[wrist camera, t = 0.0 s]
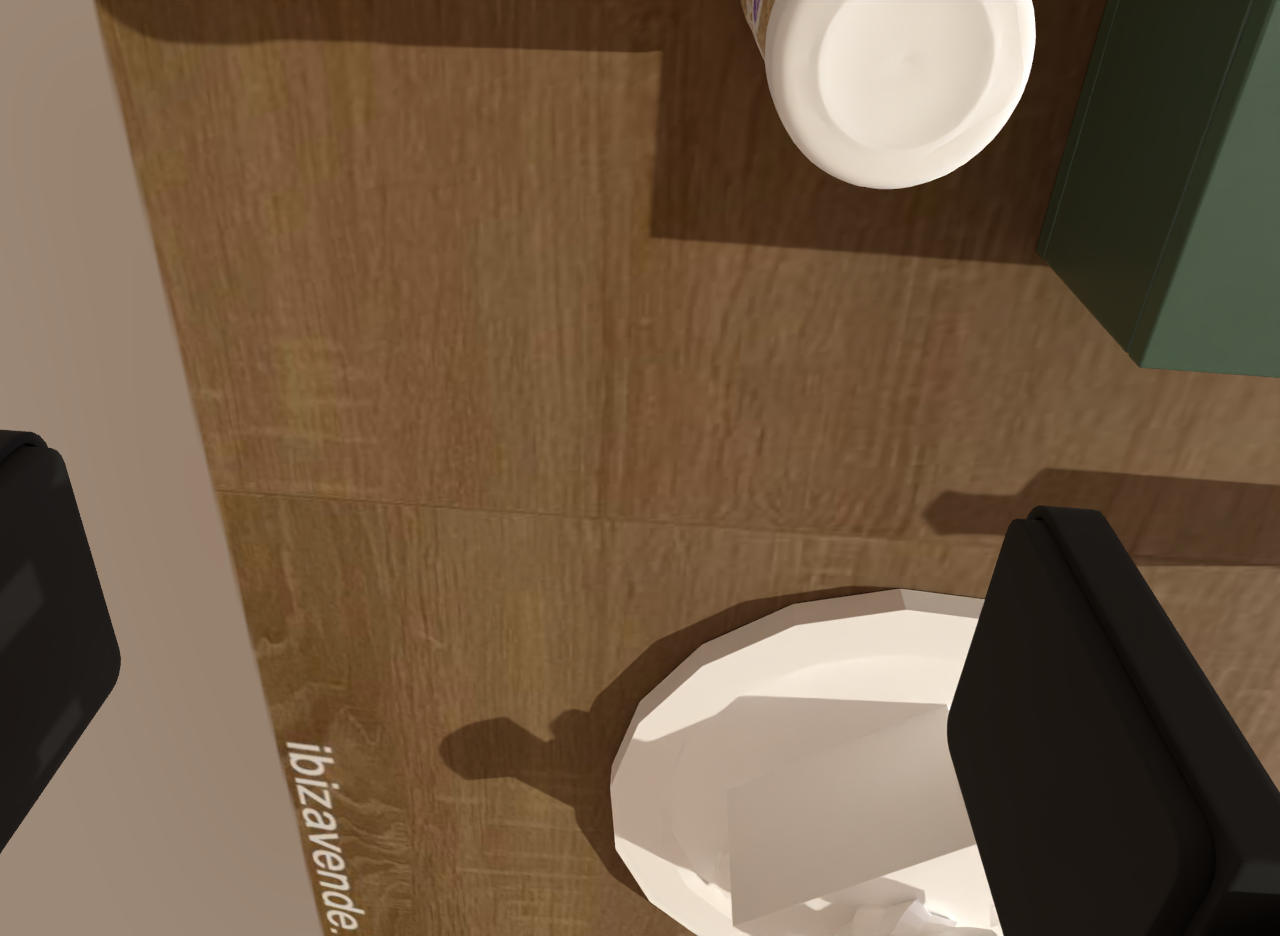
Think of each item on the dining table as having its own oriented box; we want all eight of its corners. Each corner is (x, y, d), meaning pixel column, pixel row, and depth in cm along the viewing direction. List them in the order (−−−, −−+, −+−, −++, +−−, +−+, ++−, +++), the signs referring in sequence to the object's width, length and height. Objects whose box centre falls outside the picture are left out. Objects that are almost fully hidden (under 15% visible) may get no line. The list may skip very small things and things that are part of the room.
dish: (507, 731, 45) (459, 968, 35) (1036, 495, 37) (1158, 717, 28) (767, 998, 56) (784, 1236, 46) (1222, 858, 48) (1356, 1110, 38)
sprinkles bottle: (743, -117, 27) (785, -96, 16) (910, -112, 27) (1074, -87, 16) (731, 61, 29) (760, 191, 18) (884, 66, 29) (1009, 200, 18)
